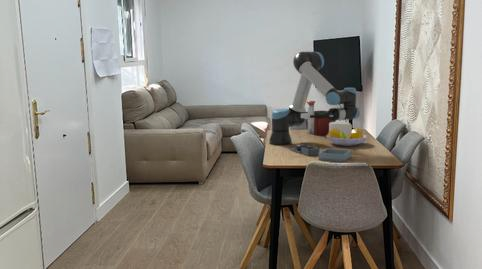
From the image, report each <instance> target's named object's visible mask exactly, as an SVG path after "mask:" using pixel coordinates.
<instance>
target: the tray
mask: <svg viewBox="0 0 482 269" xmlns="http://www.w3.org/2000/svg"><path fill="white" fill-rule="evenodd" d="M351 158H352V150H351V149H338V148H325V149H322V150H321V151H319V155H318V160H319V161H325V162H327V161H330V162H338V163H339V162H341V163H346V162H347V161H348V160H350V159H351Z"/></svg>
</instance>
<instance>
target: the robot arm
mask: <svg viewBox="0 0 482 269" xmlns="http://www.w3.org/2000/svg"><path fill="white" fill-rule="evenodd" d="M292 64H293V67H294V68H295V70H296V71H297V72H298V74H300V77H299V80H298V84H297V86H296V91H295V94H294V96H293V97H294V98H293V101H292V104H290V105H289V107H288V108H286V107H285V108H283V107H282V108H277V109H274V110H273V111H272V112H271V134H270V137H269V144H270V145H274V146H288V145H291V144H292V142H293V141H292V137H291V134H290V128H292V127H300V126H302V125H304V124H306V123H305V122H306V120H307V119H313V118H318V119H321V118H329V119H330V120H331V121H333V120H336V121H338V122H342V121H344V120H353V119H354V120H355V119H358V118H359V117H360V114H361V111H360V108H359V107H357V105H356V103H357V89H356V87H344V89H343V91H338V89H336V88H335V87H334V86H333V84H331V83H330V82H329V81H328V80H327V79H326V77H324V76H323V75H322V74H321V73H320V72H319V70H321V69H322V68H323V67H324V65H325V59H324V55H323V54H322V53H321V52H318V51H300V52H298V53H296V54H295V56H294V57H293V63H292ZM312 85H313V86H314V87H315V88H316V89H317V90H318V91H319V92H320V93H321V94H322V95H323V96H324V97H325V101H326V103H327V104H328V105H330V106H336V105H343V106H342V107H331V108H329V109H328V110H323V111H324V112H314V114H308V113H306V112H307V109H306V104H307V101H308V97H309V94H310V90H311V88H312ZM327 111H328V112H327Z"/></svg>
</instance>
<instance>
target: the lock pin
mask: <svg viewBox="0 0 482 269" xmlns="http://www.w3.org/2000/svg"><path fill="white" fill-rule="evenodd" d="M306 104H307V112H308V114H314V111H315V104H316V101H315V100H307V101H306ZM313 133H314V118H313V119H308V129H307V134H308V135H309V134H311V135H314V134H313Z"/></svg>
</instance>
